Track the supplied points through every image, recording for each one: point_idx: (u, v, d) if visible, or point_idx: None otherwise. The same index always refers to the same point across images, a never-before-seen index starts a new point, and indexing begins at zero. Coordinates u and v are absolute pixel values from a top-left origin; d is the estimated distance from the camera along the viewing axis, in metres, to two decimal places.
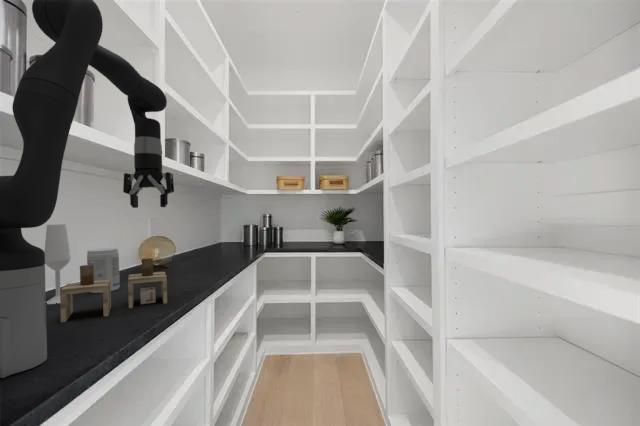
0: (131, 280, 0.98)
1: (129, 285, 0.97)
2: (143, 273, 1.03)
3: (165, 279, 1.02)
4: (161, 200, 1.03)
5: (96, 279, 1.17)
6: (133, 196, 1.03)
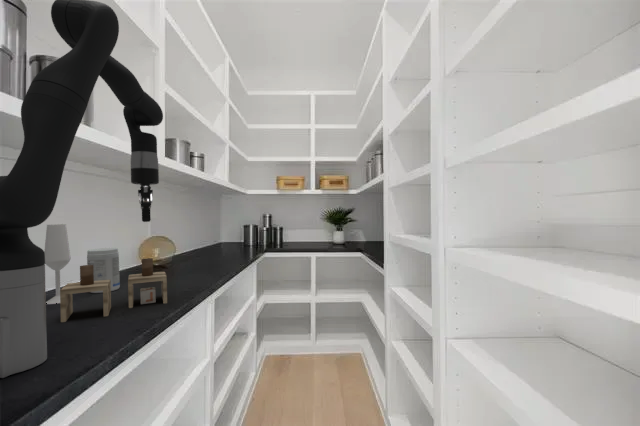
0: (131, 280, 0.98)
1: (129, 285, 0.97)
2: (143, 273, 1.03)
3: (165, 279, 1.02)
4: None
5: (96, 279, 1.17)
6: None
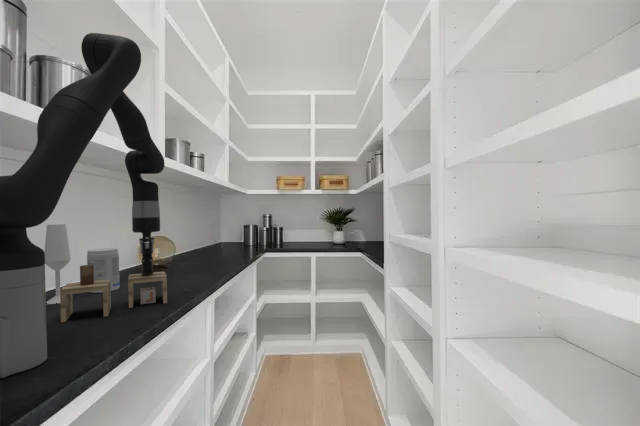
0: (131, 280, 0.98)
1: (129, 285, 0.97)
2: (143, 273, 1.03)
3: (165, 279, 1.02)
4: None
5: (96, 279, 1.17)
6: None
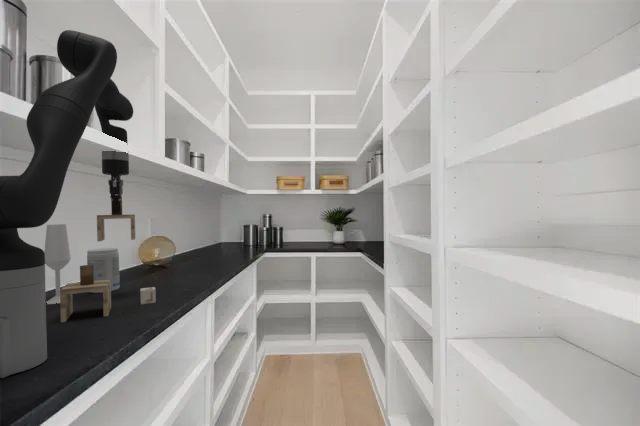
0: (100, 216, 1.05)
1: (98, 220, 1.05)
2: (112, 212, 1.10)
3: (132, 217, 1.09)
4: None
5: (96, 279, 1.17)
6: None
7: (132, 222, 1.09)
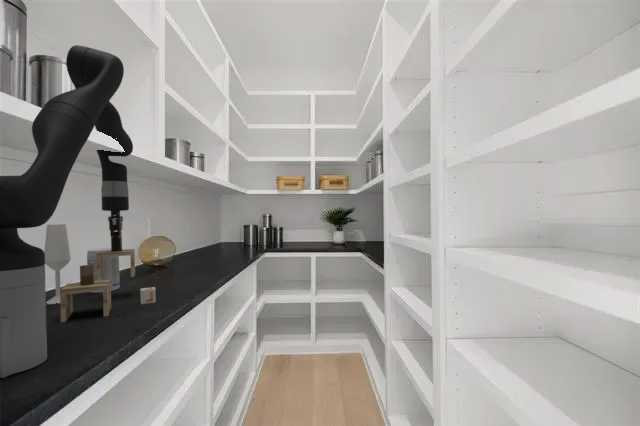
0: (99, 254, 1.05)
1: (97, 258, 1.04)
2: None
3: (132, 254, 1.09)
4: None
5: (96, 279, 1.17)
6: None
7: (132, 259, 1.09)
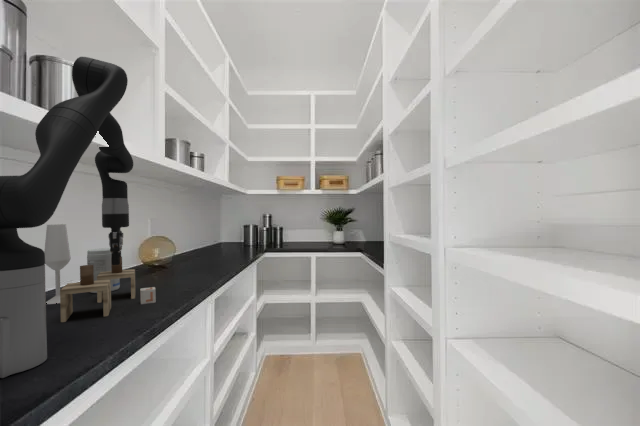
0: (100, 277, 1.05)
1: None
2: (112, 270, 1.10)
3: (133, 276, 1.09)
4: None
5: (96, 279, 1.17)
6: None
7: (132, 281, 1.09)
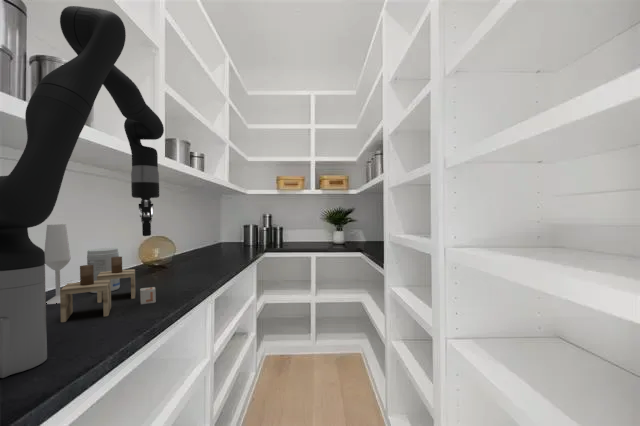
0: (100, 277, 1.05)
1: None
2: (112, 270, 1.10)
3: (133, 276, 1.09)
4: None
5: (96, 279, 1.17)
6: None
7: (132, 281, 1.09)
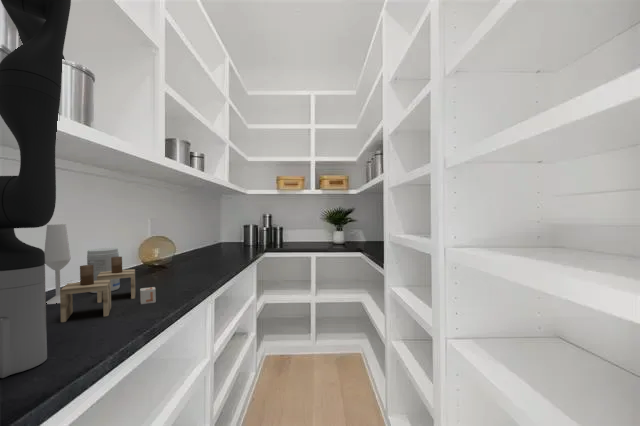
0: (100, 277, 1.05)
1: None
2: (112, 270, 1.10)
3: (133, 276, 1.09)
4: None
5: (96, 279, 1.17)
6: None
7: (132, 281, 1.09)
